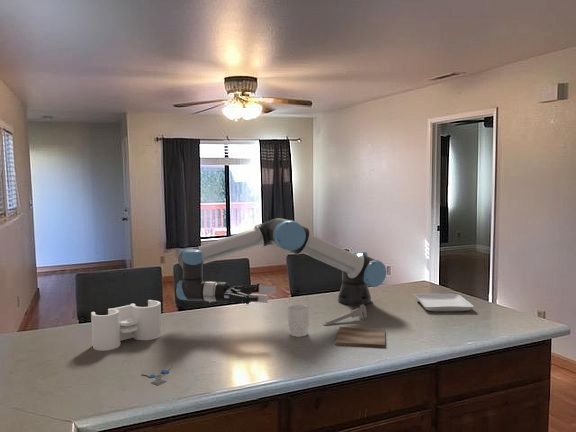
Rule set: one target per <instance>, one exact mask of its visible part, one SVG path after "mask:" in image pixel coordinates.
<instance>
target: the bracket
mask: <svg viewBox="0 0 576 432" xmlns="http://www.w3.org/2000/svg"><path fill="white" fill-rule="evenodd" d="M161 307H162V303H161V301H159V300H153V299H148V300H147V306H137V305H136V303H130V304H126V305H123V306H118V307H114V308H113V307H112V308H108V309H107V314H105V315H104V314H103V315H101V314H100V315H99V314H97V313H96V312H95V311H91V312H90V319H91V340H92V341H91V343H92V347H93V350H95V351H100V352H101V351H104V352H105V351H112V350H116V349H117V348H119V347H120V346H121V341H124V340H129V339H133V340H137V341H151V340H154V339H158V338H160V337H162V335H163V334H162V332H163V331H162V330H163V329H162V308H161Z"/></svg>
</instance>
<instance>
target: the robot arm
mask: <svg viewBox="0 0 576 432" xmlns="http://www.w3.org/2000/svg"><path fill="white" fill-rule="evenodd" d="M266 246H277V247H278V248H281V249H283V250H285V251H288V252H291V253H293V254H295V255H300V254H304V255H307V256H308V257H311V258H313V259H315V260H317V261H319V262H322V263H324V264H327V265H329V266H331V267H333V268H335V269H337V270H340V271H341V286H340V290H339V293H338V296H337V297H338V299H337V301H338V302H339V303H340V304H344V305H347V306H348V305H349V306H360V305H362V304H364V305H367V304H370V303H371V302H372V296H371V292H370V290H369V288H376V287H377V288H378V287H379V286H380V285H382V284H383V283H384V281H385V280H386V278H387V277H386V276H387V269H386V268H387V267H386V266H385V264H384V263H383V261H380V260H379V259H374V258H372V257H371V256H369V255H368V252H367V251H349V250H346V249H344V248H342V247H340V246H338V245H335V244H334V243H331V242H329V241H327V240H325V239H323V238H320V237H318V236H316V235H313V234H311V231H310V229H309V228H308V227H305V226H303V225H301V224H300V223H299V222H298V221H295V220H293V219H286V218H282V217H277V218H272V219H271V220H268V221H264V222H263V223H260V224H256V225H254V228H251V229H248V230H245V231H243V232H239V233H237V234H234V235H229V236H227V237H225V238H221V239H218V240H217V239H216V240H215V241H212V242H209V243H206V244H202V245H199V246H196V247H193V248H184V249H181V250H180V252H179V253H178V254H177V261H178V264H179V266H180V267H181V268H182V280H179V281H178V282H177V284H176V290H175V291H176V292H175V293H176V297H177V298H178V299H179V300H183V301H189V302H190V301H194V302H195V301H196V302H197V301H198V302H208V303H209V304H211V303H212V302H218V303H227V302H228V301H231V302H236V303H240V304H246V305H249V304H250V303H263V304H264V303H265V304H267V303H268V302H269V298H268V295H269V294H271V295H273V294H274V295H275V294H276V293H277V291H276V290H277V289H276V287H277V286H276V285H274V286H272V285H260V283H255V284H244V285H241V284H240V285H239V284H237V285H236V284H235V285H233V286H232V287H230V285H229V282H226V281H207V280H206V281H204V280H203V279H204V276H203V275H204V274H203V271H204V269H203V267H204V266H203V265H204V264H207V263H211V262H215V261H217V260H219V259H222V258H226V257H229V256H233V255H234V254H238V253H242V252H244V251H246V250H247V251H248V250H250V249H253V248H255V247H261V248H263V247H266ZM255 293H258V294H255Z"/></svg>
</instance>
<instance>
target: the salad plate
mask: <svg viewBox="0 0 576 432" xmlns="http://www.w3.org/2000/svg"><path fill="white" fill-rule="evenodd" d="M413 296H414V298H415V299H416V300H417V301H418V302H419V303H420V304H421V306H423V308H424V309H425V310H426V311H429V312H467V311H470V310H473V309H474V308H475V306H474V305H473V304H472V303H471V302H469V301H468V300H467V299H465V298H464V297H463V296H461V295H460V294H451V293H415V294H414V293H413Z"/></svg>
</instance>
